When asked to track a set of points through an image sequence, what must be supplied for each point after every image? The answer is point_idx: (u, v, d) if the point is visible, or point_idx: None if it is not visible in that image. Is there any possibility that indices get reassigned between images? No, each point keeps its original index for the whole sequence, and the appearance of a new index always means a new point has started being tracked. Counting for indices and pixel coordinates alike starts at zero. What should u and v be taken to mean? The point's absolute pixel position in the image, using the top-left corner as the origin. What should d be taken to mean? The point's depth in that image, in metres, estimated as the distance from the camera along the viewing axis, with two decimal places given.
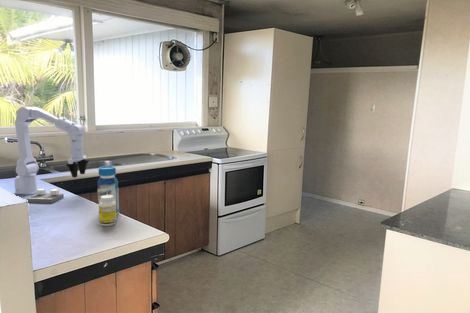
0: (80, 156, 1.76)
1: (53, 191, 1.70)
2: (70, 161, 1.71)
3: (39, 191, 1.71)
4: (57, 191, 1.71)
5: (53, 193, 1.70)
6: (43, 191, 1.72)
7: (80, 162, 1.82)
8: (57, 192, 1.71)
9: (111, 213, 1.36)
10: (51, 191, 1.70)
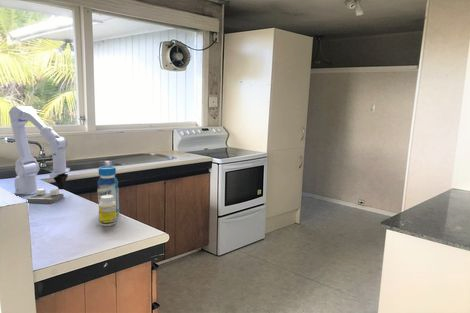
0: (62, 169, 1.74)
1: (53, 191, 1.70)
2: (51, 175, 1.68)
3: (39, 191, 1.71)
4: (57, 191, 1.71)
5: (53, 193, 1.70)
6: (43, 191, 1.72)
7: None
8: (57, 192, 1.71)
9: (111, 213, 1.36)
10: (51, 191, 1.70)
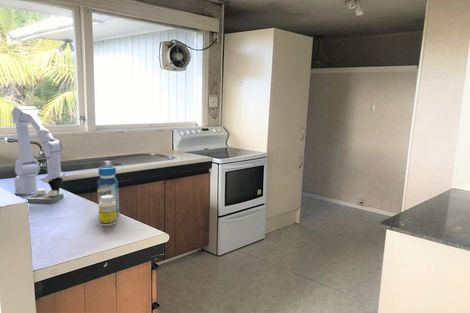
0: (57, 174, 1.69)
1: (51, 192, 1.69)
2: (46, 179, 1.64)
3: (39, 191, 1.71)
4: (55, 192, 1.70)
5: (51, 194, 1.69)
6: (43, 191, 1.72)
7: None
8: (55, 193, 1.70)
9: (111, 213, 1.36)
10: (49, 192, 1.69)
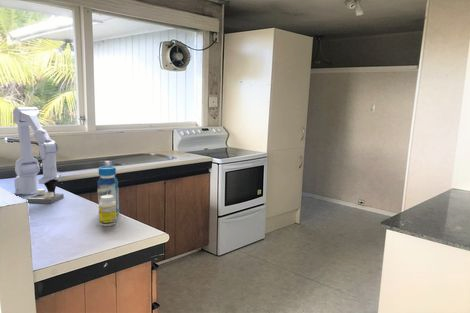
0: (53, 175, 1.66)
1: (47, 193, 1.66)
2: (41, 181, 1.61)
3: (39, 191, 1.71)
4: (51, 193, 1.67)
5: (47, 195, 1.66)
6: (43, 191, 1.72)
7: (49, 183, 1.68)
8: (51, 194, 1.67)
9: (111, 213, 1.36)
10: (45, 193, 1.66)
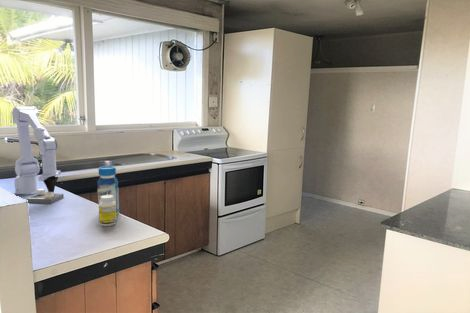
0: (52, 172, 1.66)
1: (47, 193, 1.66)
2: (41, 178, 1.60)
3: (39, 191, 1.71)
4: (52, 193, 1.67)
5: (47, 195, 1.66)
6: (43, 191, 1.72)
7: None
8: (52, 194, 1.67)
9: (111, 213, 1.36)
10: (45, 193, 1.66)
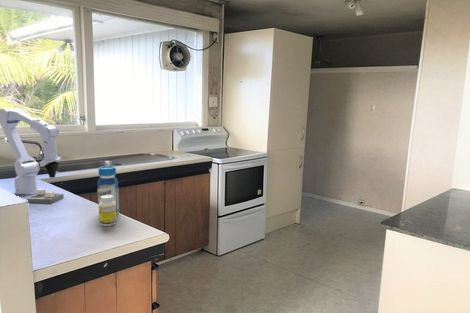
0: (53, 158, 1.74)
1: (48, 193, 1.66)
2: (42, 163, 1.69)
3: (39, 191, 1.71)
4: (52, 193, 1.67)
5: (48, 195, 1.66)
6: (43, 191, 1.72)
7: None
8: (52, 194, 1.67)
9: (111, 213, 1.36)
10: (46, 193, 1.66)
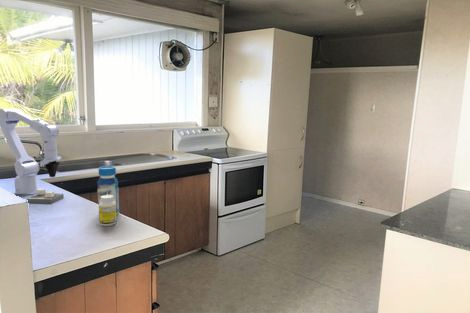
0: (53, 157, 1.75)
1: (48, 193, 1.66)
2: (42, 162, 1.69)
3: (39, 191, 1.71)
4: (52, 193, 1.67)
5: (48, 195, 1.66)
6: (43, 191, 1.72)
7: None
8: (52, 194, 1.67)
9: (111, 213, 1.36)
10: (46, 193, 1.66)
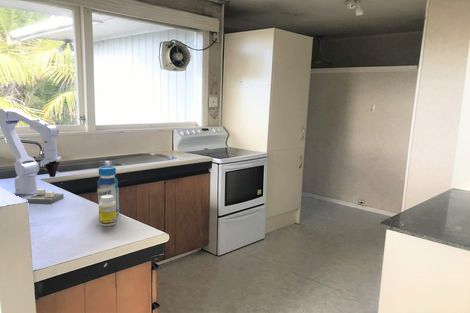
0: (53, 157, 1.75)
1: (48, 193, 1.66)
2: (42, 162, 1.69)
3: (39, 191, 1.71)
4: (52, 193, 1.67)
5: (48, 195, 1.66)
6: (43, 191, 1.72)
7: None
8: (52, 194, 1.67)
9: (111, 213, 1.36)
10: (46, 193, 1.66)
